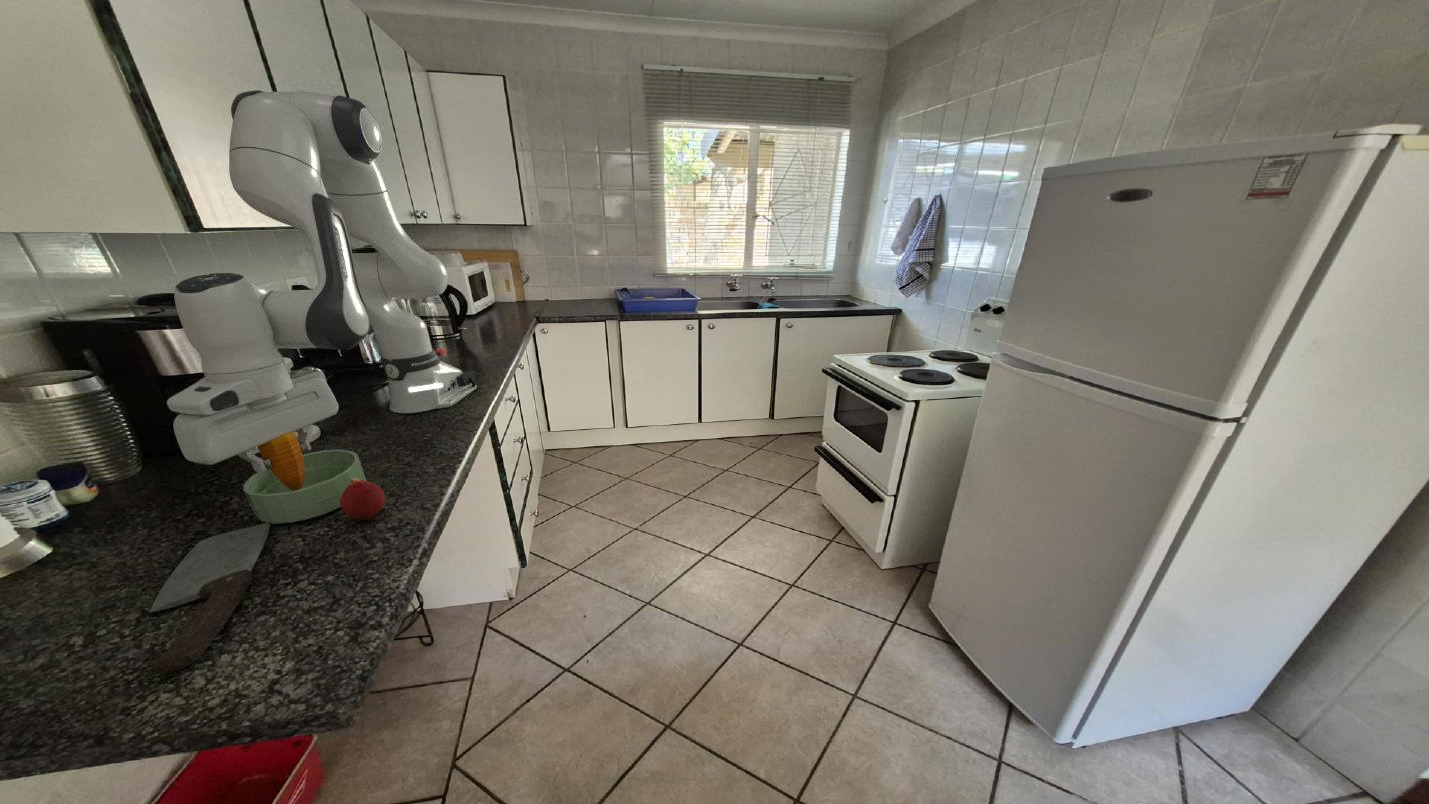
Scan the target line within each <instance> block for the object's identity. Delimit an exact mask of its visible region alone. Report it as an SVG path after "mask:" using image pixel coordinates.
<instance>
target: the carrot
mask: <svg viewBox="0 0 1429 804" xmlns="http://www.w3.org/2000/svg"><path fill="white" fill-rule="evenodd" d="M257 447H258V449H259V451H260V456H261V458H264V459H265V458H268V459H270V461H271V464H272V466H273V467H272V468H270V470H271V471H272V473H273V474H274V475H275V476H276V478H277V479H278V480H279V481H280V482H281V483H283V484H284V485H285V486H286V487H288V488H289V489H291V490H292V491H295V490H299V489H301V488H302V485H303V482H304V476H305V467H304V459H303V455H304V454H302V451H301V448H300V445H299V442H298V439H297V437H296V435H295V434H294V433H293V432H291V433H287V434H283V435H281V436H279V437H278V438H276V439H274V440H272V441H269V442H267V443H264V444H262V445H259V446H257Z"/></svg>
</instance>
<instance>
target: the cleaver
mask: <svg viewBox="0 0 1429 804" xmlns="http://www.w3.org/2000/svg"><path fill="white" fill-rule="evenodd" d="M270 529H271V523H267V522H263V523H260V524H257V525H252V526H248V527H244V528H239V529H236V530H232V531H228V532H223V533H219V534H215V535H212V536H210V537H207V538H204V539H202V540H200V541H198V542H197V544H195V546H193V548H192V549H190V550H189V552H188V553H187V554H186V555H185V556H184V558H182V560H181V561H180V562H179V563H178V564H177V566H176V567H175V569H174V570H173V571H172V572H171V574H170V575H169V577H168V578H167V579H166V581H165V582H164V583H163V585H162V587H161V588H160V590H159V592H158V593H157V596H156V597H155V599H154V601H153V603H152V604H151V607H150V610H149V611H148V613H149V614H150V613H154V612H159V611H165V610H168V609H172V608H175V607H179V606H181V605H185V604H187V603H190V602H193V601H196V600H199V599H202V600H206V601H205V602H204V603H203V604H201V606H200V607H198V608H197V609H196V610H195V611H194V612H193V613H192V614H191V615H190V617H189V618H188V619H187V620H186V621H185V623H184V625H183V627H182V629H181V631H180V633H179V635H178V637H177V638H176V640H175V641H174V642H172V644H171V645H170V646H169V647H168V648H167V649H166V650H165V651H164V652H163V653H162V654H161V655H160V656H159V657H158V658H157V659H156V661H154V663H153V664H152V666H151V669H152V671H153V673H155V674H156V675H159V676H161V675H166V674H169V673H173V672H177V671H179V670H182V669H185V668H187V667H189V666H191V665H193V664H194V663H195V662H196V661H198V659H199V658H200V657H201V656H202V655H203V654H204V653H205V651H206V650H207V649H208V647H209V646H210V645H211V644H212V643H213V641H214V640H215V638H216V637H217V635H218V634H219V633H220V631H221V630H222V629H223V627H224V625H225V624H226V623H227V621H228V620H229V618H230V617H231V616H232V614H233V613H234V611H235V610H236V609H237V607H238V605H239V604H240V602H241V600H242V599H243V597H244V596H245V594H246V592H247V590H248V588H249V586H250V583H251V582H252V579H253V577H254V576H253V573H252V571H253V569H254V566H255V564H256V562H257V560H258V558H259V557H260V554H261V553H262V551H263V549H264V546H265V545H266V542H267V539H268V537H269V533H270Z"/></svg>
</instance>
